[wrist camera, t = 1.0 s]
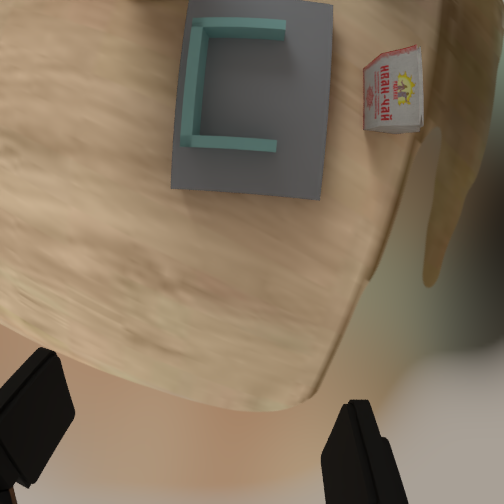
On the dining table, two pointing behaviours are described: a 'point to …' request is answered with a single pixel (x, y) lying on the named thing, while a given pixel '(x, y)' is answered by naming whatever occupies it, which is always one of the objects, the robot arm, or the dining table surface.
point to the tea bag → (394, 92)
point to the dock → (253, 97)
